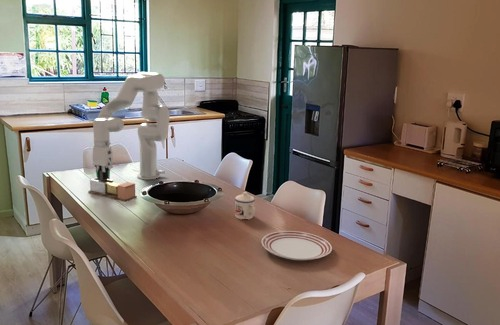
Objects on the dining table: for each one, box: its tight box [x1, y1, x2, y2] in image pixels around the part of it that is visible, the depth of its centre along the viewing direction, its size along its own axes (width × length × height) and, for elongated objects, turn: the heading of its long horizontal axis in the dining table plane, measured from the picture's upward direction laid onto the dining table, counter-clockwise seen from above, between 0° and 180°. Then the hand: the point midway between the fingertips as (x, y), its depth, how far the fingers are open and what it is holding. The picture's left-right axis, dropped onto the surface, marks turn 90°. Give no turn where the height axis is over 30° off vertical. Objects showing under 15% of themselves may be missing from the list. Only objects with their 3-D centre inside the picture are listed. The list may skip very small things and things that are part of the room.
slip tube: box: [99, 170, 121, 195], centre depth 238 cm, size 14×4×10 cm, turn 62°
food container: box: [95, 166, 111, 180], centre depth 258 cm, size 12×6×10 cm, turn 179°
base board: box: [87, 190, 138, 203], centre depth 239 cm, size 25×8×1 cm, turn 62°
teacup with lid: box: [234, 191, 256, 220], centre depth 215 cm, size 12×9×12 cm
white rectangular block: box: [89, 176, 114, 194], centre depth 241 cm, size 10×6×6 cm, turn 62°
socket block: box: [118, 181, 136, 200], centre depth 234 cm, size 5×7×6 cm
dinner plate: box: [261, 230, 333, 261], centre depth 184 cm, size 27×27×3 cm
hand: (103, 178), depth 240 cm, fingers closed on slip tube, 2 cm apart
